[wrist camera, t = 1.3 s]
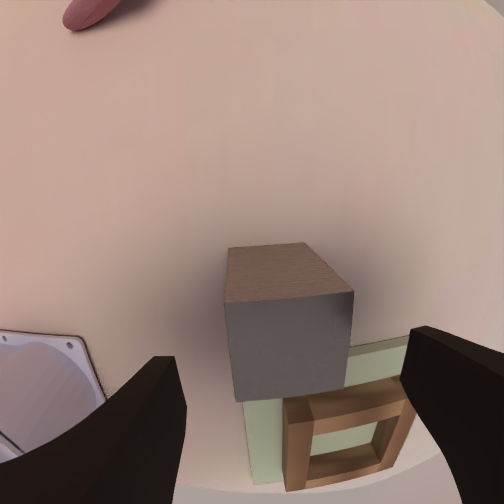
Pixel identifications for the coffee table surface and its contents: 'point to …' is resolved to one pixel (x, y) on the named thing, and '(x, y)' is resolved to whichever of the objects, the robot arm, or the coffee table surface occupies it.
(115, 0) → the video game controller
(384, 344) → the socket block
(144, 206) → the coffee table surface
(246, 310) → the grey brown rectangular block
